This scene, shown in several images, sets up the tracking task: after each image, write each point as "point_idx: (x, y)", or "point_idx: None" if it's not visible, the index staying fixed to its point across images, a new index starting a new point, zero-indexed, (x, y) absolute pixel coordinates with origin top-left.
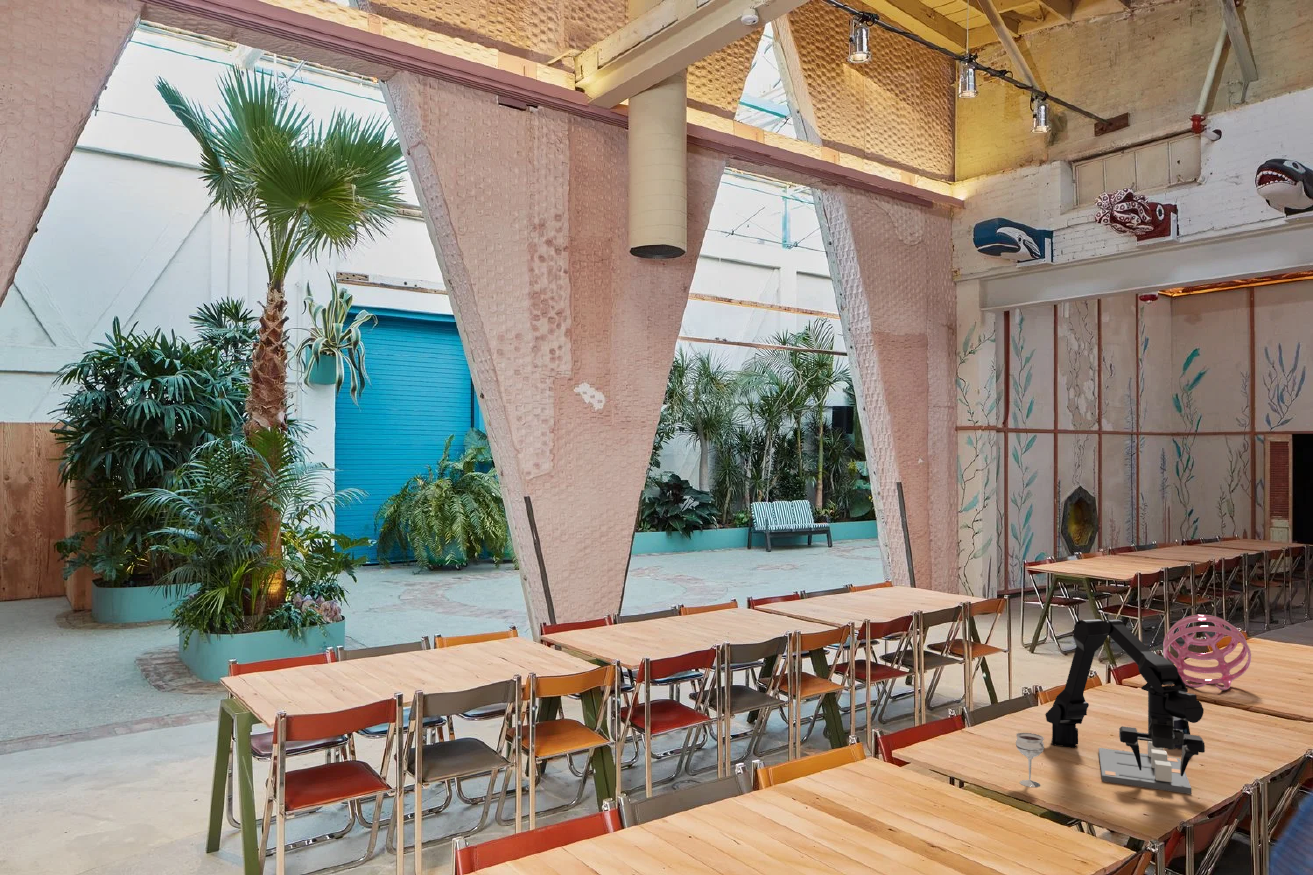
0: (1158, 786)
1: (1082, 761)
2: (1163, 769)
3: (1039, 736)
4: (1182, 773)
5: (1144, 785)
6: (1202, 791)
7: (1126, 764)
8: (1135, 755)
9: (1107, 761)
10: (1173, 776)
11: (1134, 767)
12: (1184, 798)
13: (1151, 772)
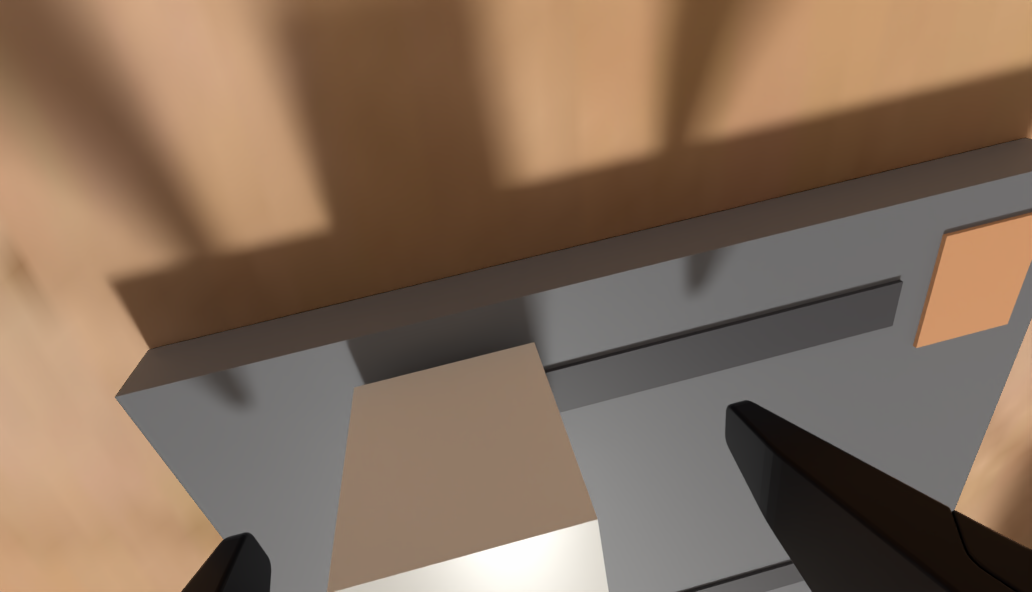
0: (490, 281)
1: (1003, 497)
2: (459, 484)
3: None
4: (213, 568)
5: (631, 240)
6: (108, 489)
7: (769, 572)
8: (1010, 543)
9: None
10: None
11: (715, 558)
12: (136, 127)
13: None
